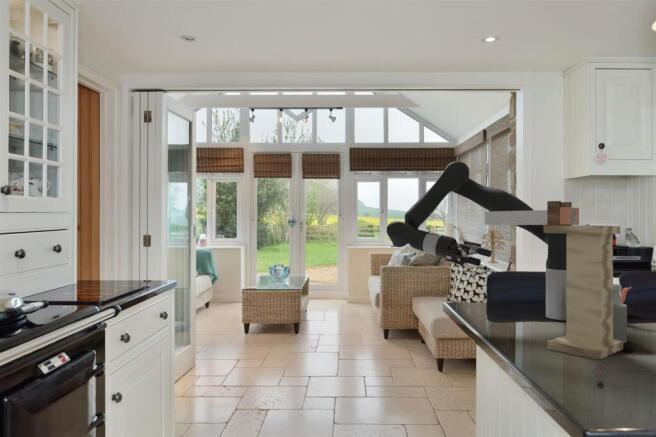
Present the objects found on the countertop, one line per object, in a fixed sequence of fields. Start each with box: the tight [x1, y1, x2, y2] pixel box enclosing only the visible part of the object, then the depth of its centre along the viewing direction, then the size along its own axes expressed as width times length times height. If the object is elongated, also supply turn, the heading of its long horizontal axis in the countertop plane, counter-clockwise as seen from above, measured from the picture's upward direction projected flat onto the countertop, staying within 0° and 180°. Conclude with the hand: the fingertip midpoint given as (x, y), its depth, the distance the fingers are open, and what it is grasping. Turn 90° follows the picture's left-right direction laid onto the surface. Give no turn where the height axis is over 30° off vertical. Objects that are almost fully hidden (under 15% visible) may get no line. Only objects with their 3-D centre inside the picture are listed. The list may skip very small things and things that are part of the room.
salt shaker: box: [613, 283, 623, 304], centre depth 147 cm, size 6×6×13 cm
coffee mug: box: [613, 302, 628, 344], centre depth 126 cm, size 13×10×10 cm
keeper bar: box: [484, 206, 580, 226], centre depth 126 cm, size 7×25×5 cm, turn 38°
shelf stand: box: [544, 200, 624, 361], centre depth 114 cm, size 16×14×39 cm
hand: (485, 258), depth 139 cm, fingers open, 8 cm apart
